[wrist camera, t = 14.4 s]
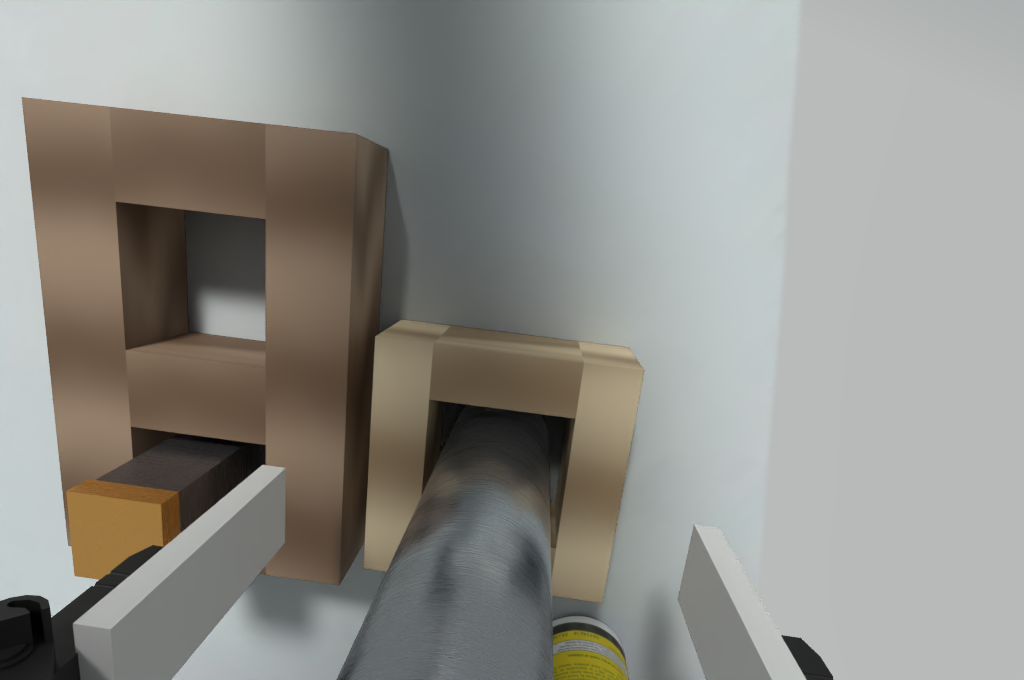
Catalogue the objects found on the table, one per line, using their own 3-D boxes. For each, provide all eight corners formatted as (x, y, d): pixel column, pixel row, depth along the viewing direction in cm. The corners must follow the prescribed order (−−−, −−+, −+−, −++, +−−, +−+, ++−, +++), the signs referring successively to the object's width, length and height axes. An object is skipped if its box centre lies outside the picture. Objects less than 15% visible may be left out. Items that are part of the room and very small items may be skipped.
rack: (401, 319, 22) (375, 336, 19) (628, 347, 22) (644, 370, 18) (389, 520, 24) (363, 568, 21) (594, 549, 24) (602, 603, 20)
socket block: (107, 118, 21) (21, 97, 17) (388, 149, 20) (356, 133, 17) (133, 502, 25) (68, 545, 22) (368, 535, 24) (339, 585, 21)
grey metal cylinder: (457, 387, 22) (260, 745, 7) (554, 399, 22) (578, 794, 7) (449, 475, 23) (261, 965, 8) (542, 488, 23) (538, 1013, 8)
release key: (205, 414, 23) (66, 491, 16) (273, 423, 23) (160, 504, 16) (207, 477, 24) (74, 575, 17) (273, 487, 23) (165, 589, 17)
